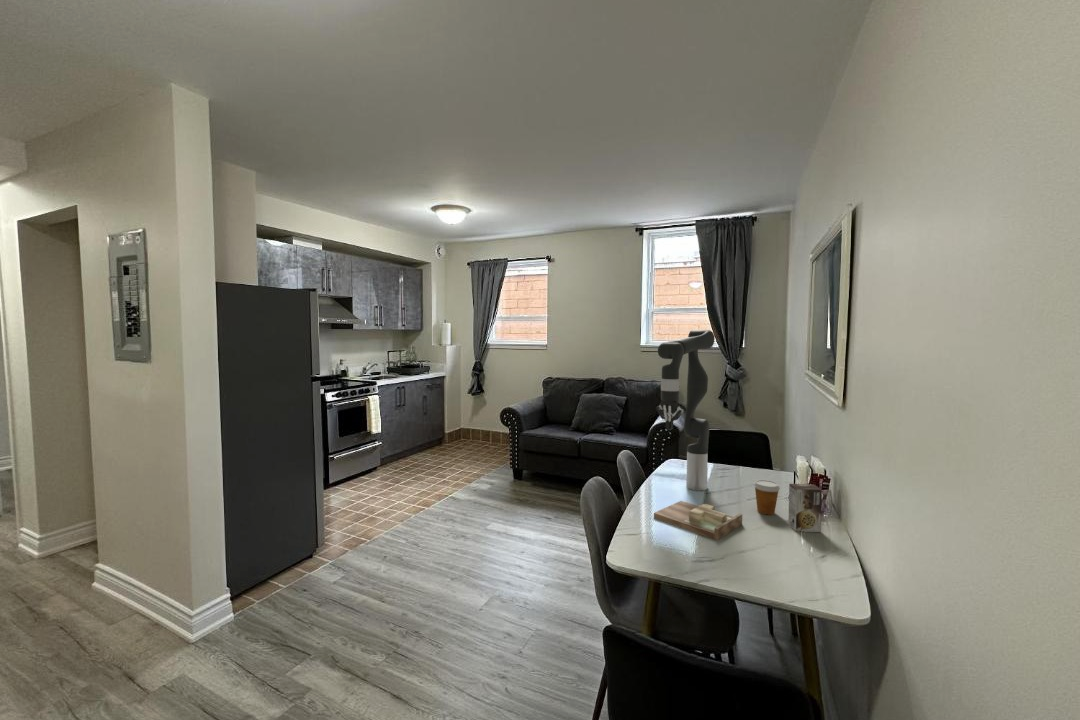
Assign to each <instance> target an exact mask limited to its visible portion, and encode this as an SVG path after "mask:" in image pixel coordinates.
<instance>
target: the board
mask: <svg viewBox="0 0 1080 720" xmlns="http://www.w3.org/2000/svg"><path fill="white" fill-rule="evenodd" d="M699 506H700V505H696V504H693V503H689V502H686V501H683V500H679V501H677V502H675V503H673V504H671V505H668V506H666V507H664V508H662V509H660V510H657V511H655V512H653V518H654V519H657V520H659V521H662V522H665V523H668V524H670V525H674V526H675V527H679V528H681V529H684V530H686V531H687V530H688V531H690V532H693V533H695V534H699V535H701V536H704V537H708V538H710V539H713V540H715V541H718V540H719V539H721V538H723V537H725V536H726V535H727V534H729V533H731V532H733V531H734V530H735V529H737V528H739V527H740V526H742V525H743V513H738V514H737V515H735V516H732V515H729V514H727V521H726V522H724V523H723V524H721V525H716V524H713V523H710V522H707V521H702V522H701V523H696V522H693V521H690V520H689V511H690V510H692V509H695V508H697V507H699Z"/></svg>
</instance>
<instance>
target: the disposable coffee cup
mask: <svg viewBox="0 0 1080 720" xmlns="http://www.w3.org/2000/svg"><path fill="white" fill-rule="evenodd" d="M753 486H754V489H755V490H754V491H755V500H756V508H757V509H756V510H757V511H756V512H758V513H760V514H763V515H766V514H768V516H773V515H775V514H774V513H776V509H777V507H776V506H777V502H778V496H779V491H780V485H779V483H777V482H775V481H773V480H767V479H758V480H755V481H754V483H753ZM772 514H773V515H772Z"/></svg>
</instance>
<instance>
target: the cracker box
mask: <svg viewBox="0 0 1080 720" xmlns="http://www.w3.org/2000/svg"><path fill="white" fill-rule="evenodd" d="M822 493H823V489H821V488H819V486H817V485H816V484H814V483H812V484H811V483H789V486H788V518H787V519H788V520H787V521H788V526H789V527H790V528H792V529H793V530H794V531H795V532H800V531H801V532H803V531H804V533H805V532H806V533H807V532H808V533H822V501H823V500H822V497H823V496H822V495H823V494H822Z"/></svg>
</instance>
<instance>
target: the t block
mask: <svg viewBox="0 0 1080 720" xmlns="http://www.w3.org/2000/svg"><path fill="white" fill-rule="evenodd" d="M698 506H699V507H697V508H695V509H692V510H690V511H689V520H690V521H693V522H696V523H701V522H702V521H707V522H710V523H713V524H716V525H721V524H723V523H724V522H726V521H727V515H728V513H724V512H721V511H718V510H715V509H716V508H715V506H714V505H712V504H708V503H703V504H701V505H698Z"/></svg>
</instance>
